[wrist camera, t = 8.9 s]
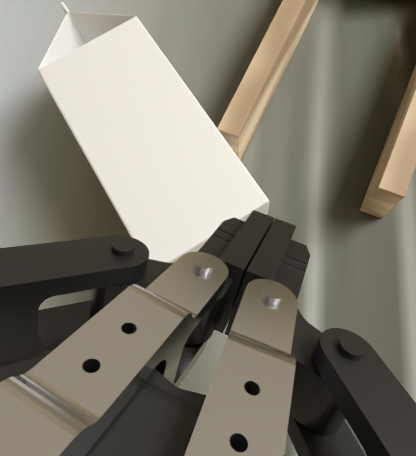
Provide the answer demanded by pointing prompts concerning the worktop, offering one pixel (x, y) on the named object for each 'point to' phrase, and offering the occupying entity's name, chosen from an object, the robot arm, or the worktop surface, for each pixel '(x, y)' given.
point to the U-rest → (267, 83)
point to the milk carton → (145, 134)
